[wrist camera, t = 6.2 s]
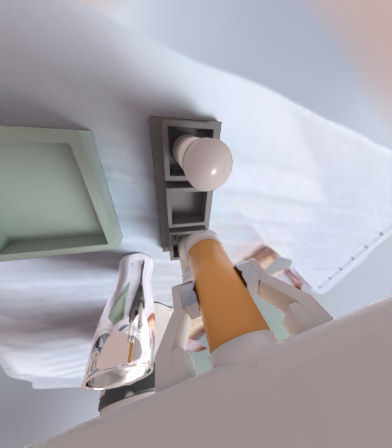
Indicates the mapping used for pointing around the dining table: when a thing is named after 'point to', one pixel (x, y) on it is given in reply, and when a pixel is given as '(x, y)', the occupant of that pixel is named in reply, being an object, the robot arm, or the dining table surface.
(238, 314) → the cylinder
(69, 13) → the dining table surface
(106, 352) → the beer glass
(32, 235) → the parts tray
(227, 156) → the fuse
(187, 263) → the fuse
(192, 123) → the fuse block
